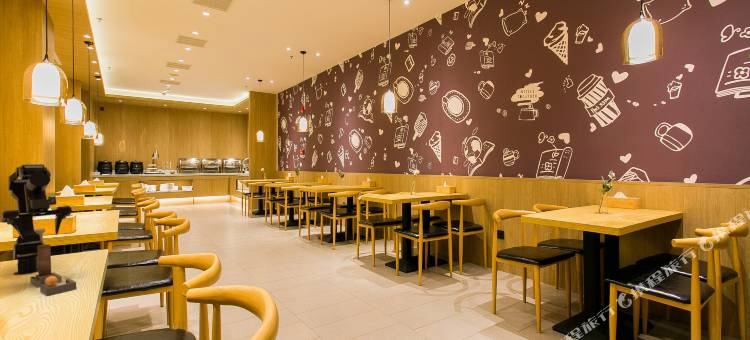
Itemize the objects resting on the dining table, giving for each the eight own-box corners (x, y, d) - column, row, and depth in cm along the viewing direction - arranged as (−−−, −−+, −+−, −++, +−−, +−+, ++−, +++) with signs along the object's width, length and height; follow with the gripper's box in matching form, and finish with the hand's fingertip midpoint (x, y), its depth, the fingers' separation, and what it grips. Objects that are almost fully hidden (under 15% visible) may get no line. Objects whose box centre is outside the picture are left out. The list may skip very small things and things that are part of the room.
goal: (40, 291, 127) (40, 284, 127) (69, 285, 134) (69, 278, 134) (46, 296, 123) (46, 288, 123) (76, 289, 130) (76, 282, 130)
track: (30, 283, 137) (30, 277, 136) (54, 278, 142) (54, 272, 142) (36, 287, 132) (36, 281, 132) (61, 282, 137) (61, 276, 137)
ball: (49, 284, 135) (49, 274, 135) (60, 284, 135) (60, 274, 135) (42, 288, 131) (41, 278, 131) (53, 287, 132) (53, 277, 132)
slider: (35, 281, 137) (34, 245, 137) (50, 278, 141) (49, 243, 140) (40, 284, 134) (38, 247, 133) (55, 280, 137) (54, 245, 137)
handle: (29, 265, 161) (28, 231, 160) (32, 261, 166) (31, 228, 166) (44, 263, 163) (43, 229, 163) (46, 260, 169) (45, 227, 168)
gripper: (3, 190, 125) (7, 234, 122) (72, 187, 140) (77, 226, 136) (-1, 200, 132) (3, 243, 128) (66, 196, 146) (71, 234, 143)
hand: (40, 236), depth 134 cm, fingers open, 9 cm apart
